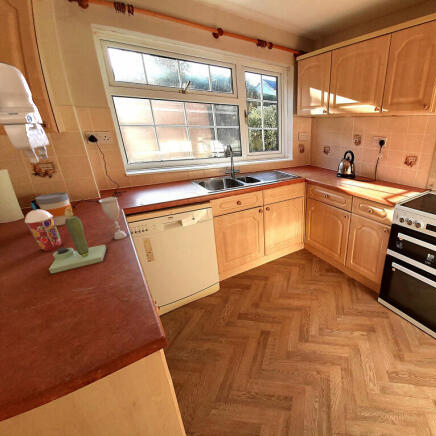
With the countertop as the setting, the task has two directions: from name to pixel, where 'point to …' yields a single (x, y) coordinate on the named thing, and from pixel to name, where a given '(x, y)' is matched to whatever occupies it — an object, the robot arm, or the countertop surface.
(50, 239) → the smoothie
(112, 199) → the chalice
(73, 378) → the countertop surface
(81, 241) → the vegetable
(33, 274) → the countertop surface
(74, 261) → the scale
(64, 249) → the tare button
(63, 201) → the reusable coffee cup
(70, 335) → the countertop surface
